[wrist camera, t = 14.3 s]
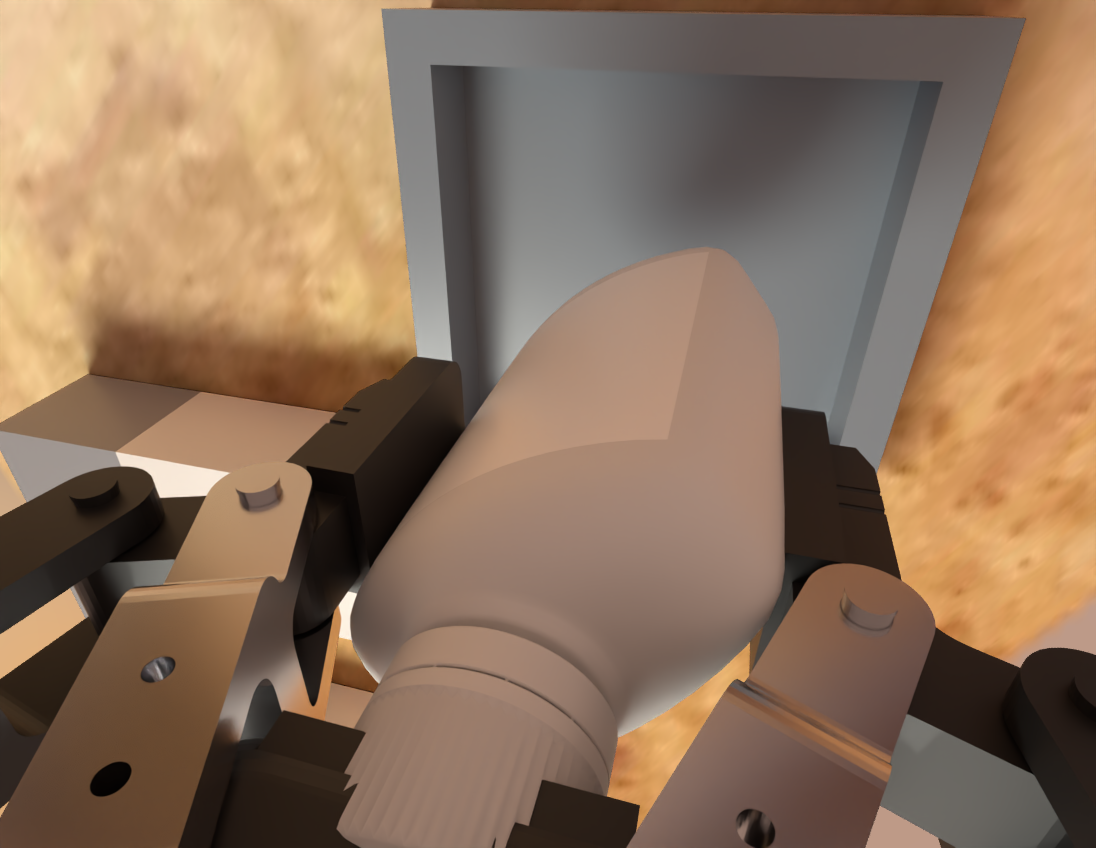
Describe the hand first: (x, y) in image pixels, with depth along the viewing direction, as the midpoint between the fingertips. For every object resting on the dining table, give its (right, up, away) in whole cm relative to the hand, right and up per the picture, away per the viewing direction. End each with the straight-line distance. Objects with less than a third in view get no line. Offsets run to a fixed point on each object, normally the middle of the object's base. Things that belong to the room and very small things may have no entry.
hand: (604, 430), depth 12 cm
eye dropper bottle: (+1, +2, +3) cm, 3 cm away
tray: (+2, +4, +7) cm, 8 cm away
